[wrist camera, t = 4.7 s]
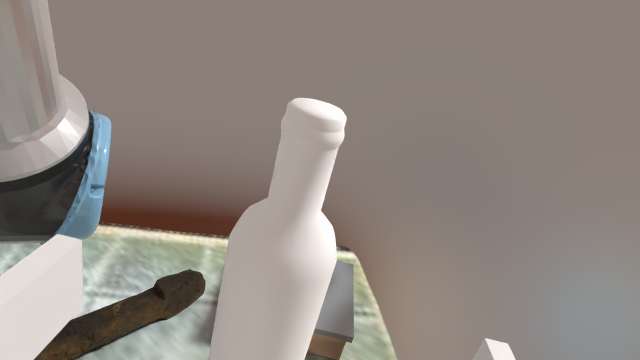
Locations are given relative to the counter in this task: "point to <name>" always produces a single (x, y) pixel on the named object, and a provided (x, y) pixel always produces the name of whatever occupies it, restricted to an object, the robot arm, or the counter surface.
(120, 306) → the hand tool
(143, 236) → the counter surface
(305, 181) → the bottle
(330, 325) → the slate stand
